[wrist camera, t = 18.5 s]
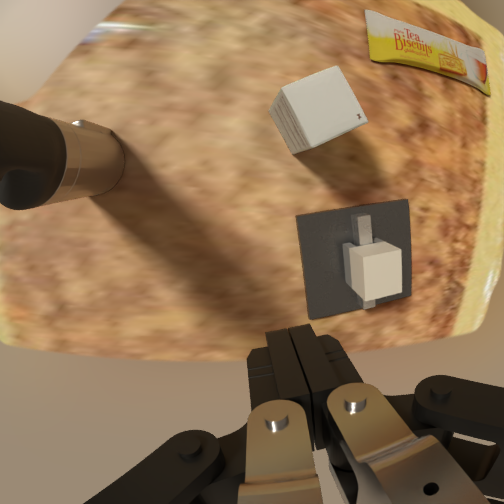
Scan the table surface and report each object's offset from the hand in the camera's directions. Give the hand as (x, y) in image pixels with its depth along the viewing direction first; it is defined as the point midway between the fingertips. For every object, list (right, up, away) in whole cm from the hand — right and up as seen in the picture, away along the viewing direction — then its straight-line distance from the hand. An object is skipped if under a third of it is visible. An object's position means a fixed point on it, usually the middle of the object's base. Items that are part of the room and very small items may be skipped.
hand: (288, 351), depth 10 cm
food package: (+30, +38, +30) cm, 57 cm away
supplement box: (+6, +21, +31) cm, 39 cm away
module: (+15, +2, +35) cm, 39 cm away
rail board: (+15, +2, +36) cm, 40 cm away
